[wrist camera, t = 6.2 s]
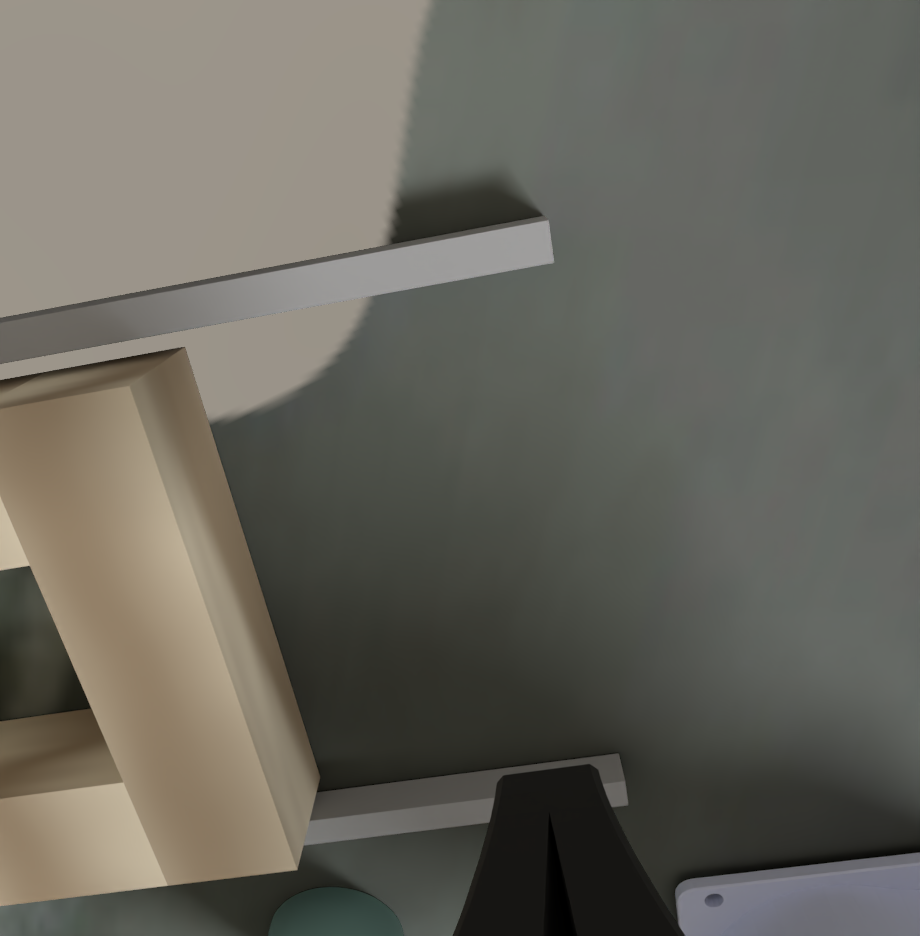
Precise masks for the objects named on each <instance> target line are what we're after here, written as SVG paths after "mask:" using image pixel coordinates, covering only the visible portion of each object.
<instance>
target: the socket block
mask: <svg viewBox="0 0 920 936" xmlns="http://www.w3.org/2000/svg"><path fill="white" fill-rule="evenodd" d="M24 566H30V567H31V569H32V572H33V574H34V576H35V579H36V581H37V583H38V585H39V588H40V590H41V592H42V595H43V597H44V599H45V602H46V604H47V606H48V609H49V611H50V613H51V616H52V618H53V620H54V623H55V625H56V627H57V630H58V632H59V634H60V637H61V639H62V641H63V643H64V646H65V648H66V650H67V653H68V655H69V657H70V660H71V662H72V664H73V667H74V669H75V671H76V674H77V676H78V678H79V681H80V683H81V685H82V688H83V690H84V692H85V695H86V697H87V699H88V701H89V704H90V706H91V709H84V710H77V711H70V712H63V713H56V714H49V715H42V716H35V717H28V718H21V719H14V720H7V721H0V906H5V905H13V904H21V903H29V902H38V901H46V900H54V899H62V898H71V897H79V896H87V895H95V894H104V893H112V892H120V891H128V890H137V889H145V888H153V887H162V886H170V885H178V884H186V883H195V882H203V881H211V880H219V879H228V878H236V877H244V876H252V875H261V874H269V873H277V872H285V871H294V870H297V869H298V865H299V861H300V857H301V853H302V849H303V845H304V841H305V837H306V833H307V829H308V825H309V821H310V817H311V813H312V809H313V805H314V801H315V797H316V793H317V788H318V784H319V780H320V775H319V771H318V768H317V765H316V762H315V759H314V756H313V752H312V749H311V746H310V743H309V740H308V737H307V733H306V730H305V727H304V724H303V721H302V717H301V714H300V711H299V708H298V705H297V702H296V698H295V695H294V692H293V689H292V686H291V683H290V679H289V676H288V673H287V670H286V667H285V663H284V660H283V657H282V654H281V651H280V648H279V644H278V641H277V638H276V635H275V632H274V628H273V625H272V622H271V619H270V616H269V613H268V609H267V606H266V603H265V600H264V597H263V594H262V590H261V587H260V584H259V581H258V578H257V574H256V571H255V568H254V565H253V562H252V559H251V555H250V552H249V549H248V546H247V543H246V540H245V536H244V533H243V530H242V527H241V524H240V520H239V517H238V514H237V511H236V508H235V505H234V501H233V498H232V495H231V492H230V489H229V486H228V482H227V479H226V476H225V473H224V470H223V466H222V463H221V460H220V457H219V454H218V451H217V447H216V444H215V441H214V438H213V435H212V432H211V428H210V425H209V422H208V419H207V416H206V412H205V409H204V406H203V403H202V400H201V397H200V393H199V391H198V387H197V384H196V381H195V378H194V374H193V371H192V368H191V365H190V362H189V358H188V356H187V352H186V349H185V347H181V348H176V349H170V350H165V351H159V352H154V353H148V354H142V355H137V356H131V357H126V358H120V359H115V360H109V361H104V362H98V363H93V364H87V365H82V366H76V367H71V368H65V369H59V370H54V371H49V372H43V373H37V374H32V375H26V376H21V377H15V378H10V379H4V380H0V570H6V569H12V568H18V567H24Z"/></svg>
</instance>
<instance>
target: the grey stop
mask: <svg viewBox="0 0 920 936" xmlns="http://www.w3.org/2000/svg"><path fill="white" fill-rule="evenodd" d="M549 263H554V257H553V250H552V243H551V235H550V228H549V221H548V219H547V218H546V217H545V216H540V217H535V218H529V219H524V220H519V221H513V222H508V223H503V224H497V225H492V226H487V227H481V228H476V229H471V230H466V231H460V232H455V233H450V234H444V235H439V236H434V237H428V238H423V239H418V240H412V241H407V242H402V243H396V244H391V245H386V246H380V247H376V248H370V249H364V250H359V251H354V252H349V253H343V254H338V255H333V256H327V257H322V258H317V259H311V260H306V261H301V262H295V263H290V264H285V265H280V266H274V267H269V268H263V269H258V270H253V271H248V272H242V273H237V274H231V275H226V276H221V277H216V278H211V279H205V280H200V281H194V282H189V283H184V284H179V285H173V286H168V287H162V288H157V289H152V290H147V291H142V292H136V293H130V294H125V295H120V296H115V297H109V298H104V299H99V300H93V301H88V302H83V303H78V304H72V305H67V306H61V307H56V308H51V309H45V310H40V311H35V312H30V313H25V314H19V315H13V316H8V317H3V318H0V364H2V363H8V362H12V361H19V360H24V359H29V358H35V357H40V356H46V355H51V354H57V353H62V352H67V351H73V350H79V349H84V348H90V347H95V346H101V345H106V344H112V343H117V342H122V341H128V340H133V339H139V338H144V337H150V336H155V335H160V334H166V333H172V332H177V331H183V330H188V329H194V328H199V327H204V326H210V325H216V324H221V323H226V322H232V321H237V320H243V319H248V318H254V317H259V316H264V315H270V314H275V313H281V312H287V311H292V310H297V309H303V308H309V307H314V306H319V305H325V304H330V303H336V302H341V301H347V300H352V299H358V298H363V297H369V296H374V295H380V294H385V293H391V292H396V291H402V290H407V289H412V288H418V287H423V286H429V285H434V284H440V283H445V282H451V281H456V280H462V279H467V278H473V277H478V276H484V275H489V274H495V273H500V272H505V271H511V270H516V269H522V268H527V267H533V266H538V265H544V264H549ZM585 764H591V765H592V766H594V767H595V768H597V769H598V770H599V774H600V778H601V781H602V784H603V787H604V789H605V792H606V795H607V797H608V800H609V802H610V804H611V807H619V806H627V805H628V798H627V790H626V783H625V778H624V774H623V769H622V765H621V761H620V756H619V753H618V754H610V755H602V756H594V757H587V758H579V759H571V760H563V761H556V762H548V763H540V764H533V765H525V766H517V767H509V768H502V769H494V770H486V771H478V772H471V773H463V774H455V775H447V776H440V777H432V778H424V779H417V780H409V781H401V782H393V783H386V784H378V785H370V786H362V787H355V788H347V789H339V790H332V791H324V792H317V793H316V797H315V801H314V805H313V809H312V813H311V817H310V821H309V825H308V829H307V833H306V837H305V841H304V845H312V844H320V843H328V842H336V841H344V840H352V839H360V838H368V837H376V836H384V835H393V834H401V833H409V832H417V831H425V830H433V829H441V828H449V827H457V826H465V825H473V824H481V823H489V822H490V818H491V813H492V808H493V804H494V798H495V792H496V785H497V782H498V781H499V780H500V779H501V777H502V776H503V775H509V774H516V773H524V772H532V771H539V770H547V769H554V768H562V767H569V766H577V765H585ZM304 845H303V846H304Z"/></svg>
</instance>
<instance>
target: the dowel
mask: <svg viewBox="0 0 920 936" xmlns="http://www.w3.org/2000/svg"><path fill="white" fill-rule="evenodd" d="M268 936H404V934H403V929H402V926H401V924H400V921H399V920H398V918H397V916H396V915H395V914H394V913H393V911H392V910H391V909H390V908H389V907H387V906H386V905H385V904H384V903H382V902H381V901H380V900H378V899H376V898H374V897H373V896H370V895H368V894H366V893H363V892H360V891H357V890H353V889H348V888H341V887H322V888H315V889H311V890H307V891H304V892H301V893H299V894H296V895H295V896H293V897H291V898H289V899H288V900H287V901H285V902H284V903H283V904H282V905H281V906H280V907H279V908H278V910H277V911H276V912H275V914H274V916H273V918H272V921H271V925H270V929H269V933H268Z"/></svg>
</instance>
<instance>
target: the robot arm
mask: <svg viewBox="0 0 920 936" xmlns="http://www.w3.org/2000/svg"><path fill="white" fill-rule="evenodd" d="M711 894H713V895H711ZM675 899H676V908H677V916H678V924H677V922H676V921H675V919H674V918H673V916H672V915H671V913H670V912H669V910H668V908H667V907H666V905H665V904H664V902H663V901H662V899H661V897H660V896H659V894H658V892H657V891H656V889H655V887H654V885H653V884H652V882H651V880H650V879H649V877H648V875H647V874H646V872H645V870H644V869H643V867H642V865H641V863H640V862H639V860H638V858H637V857H636V855H635V853H634V851H633V849H632V847H631V846H630V844H629V842H628V840H627V838H626V836H625V834H624V832H623V830H622V828H621V826H620V824H619V822H618V820H617V818H616V816H615V813H614V811H613V809H612V807H611V804H610V802H609V800H608V797H607V795H606V792H605V789H604V787H603V784H602V781H601V778H600V774H599V770H598V769H597V768H595V767H594V766H592V765H591V764H585V765H577V766H569V767H562V768H554V769H547V770H539V771H532V772H524V773H516V774H509V775H503V776H502V777H501V779H500V780H499V781H498V782H497V785H496V792H495V798H494V804H493V808H492V813H491V818H490V822H489V826H488V830H487V834H486V837H485V841H484V845H483V848H482V852H481V855H480V859H479V862H478V865H477V868H476V871H475V874H474V877H473V880H472V883H471V886H470V889H469V892H468V895H467V898H466V901H465V904H464V907H463V910H462V913H461V916H460V918H459V921H458V924H457V926H456V929H455V931H454V934H453V936H920V852H919V853H910V854H901V855H893V856H884V857H875V858H867V859H858V860H849V861H841V862H832V863H823V864H815V865H806V866H797V867H788V868H780V869H771V870H762V871H754V872H745V873H736V874H728V875H719V876H710V877H702V878H693V879H688V880H685V881H683V882H682V883H680V884H679V885H678V886H677V888H676V890H675Z"/></svg>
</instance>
